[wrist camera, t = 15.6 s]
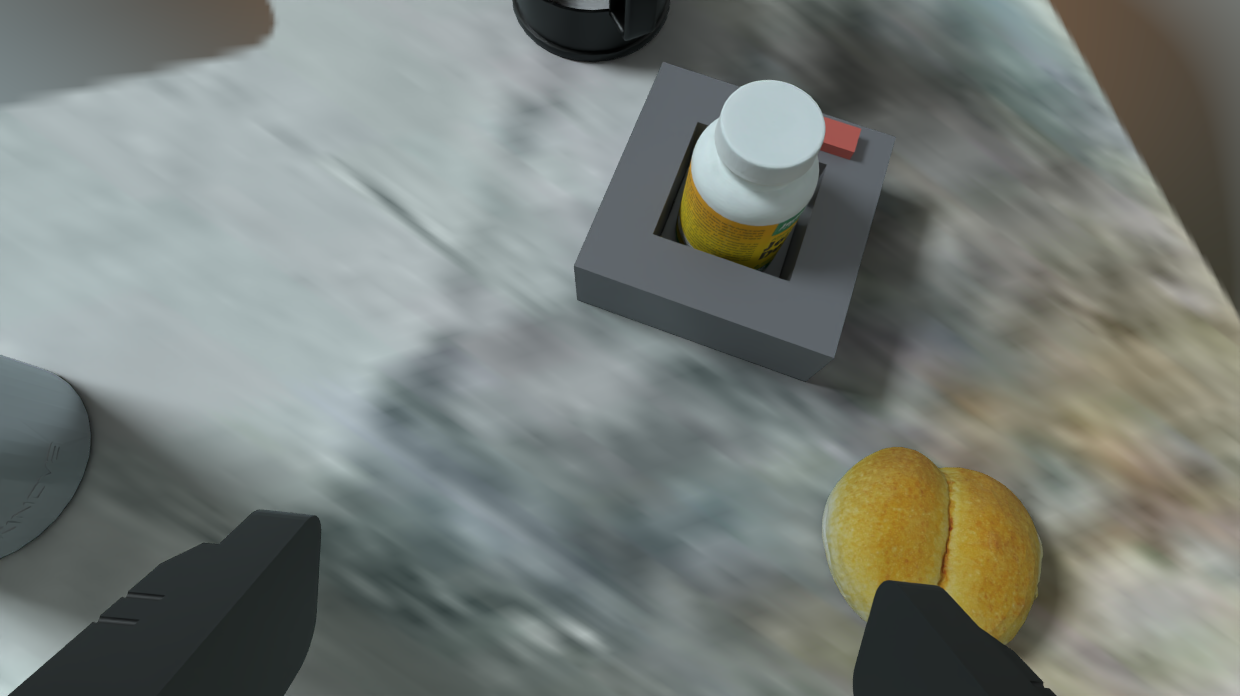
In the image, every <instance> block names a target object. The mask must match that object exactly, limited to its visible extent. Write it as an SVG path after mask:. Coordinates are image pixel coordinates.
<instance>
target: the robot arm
mask: <svg viewBox="0 0 1240 696" xmlns="http://www.w3.org/2000/svg"><path fill="white" fill-rule="evenodd" d="M90 439H91V432H90V425H89V419H88V414H87V412H86V409H85V407H84V405H83V403H82V400H81V398H80V397H79V395H78V394H77V393H76V392H75V391H74V389H73V388H72V387H71V386H70V384H69V383H67V382H66V381H64V380H63V379H62V378H60V377H59V376H57V375H56V374H55V373H52V372H50V371H47V370H44V369H42V368H39V367H37V366H34V365H31V364H28V363H24V362H21V361H18V360H15V359H12V358H9V357H6V356H3V355H0V558H2V557H4V556H6V555H8V554H11V553H13V552H15V551H17V550H18V549H20V548H21V547H23V546H24V545H26V544H27V543H29V542H30V541H31V540H33V539H34V538H36V537H37V536H39V535H40V534H41V533H42V532H43V531H44V530H45V529H46V528H47V527H48V526H49V525H50V524H51V523H52V522H53V521H54V520H55V519H56V518H57V517H58V516H59V514H60V513H61V512H62V511H63V509H64V508H65V507H66V505H67V504H68V503H69V501H70V500H71V499H72V497H73V495H74V493H75V491H76V489H77V487H78V485H79V483H80V481H81V479H82V477H83V475H84V471H85V468H86V464H87V461H88V458H89V452H90ZM320 544H321V524H320V520H319V518H318V517H317V516H315V515H306V514H297V513H288V512H279V511H269V510H256V511H254V512H253V513H252V514H250V515H249V516H248V517H247V518H246V519H245V520H244V521H243V522H242V523H241V524H240V525H239V526H238V527H237V528H236V529H235V530H234V531H232V532H231V533H230V534H229V535H228V536H227V537H226V538H225V539H224V540H223V541H222V542H221V543H220V544H210V543H202V544H200V545H198V546H196V547H194V548H192V549H190V550H188V551H186V552H184V553H182V554H180V555H178V556H175V557H173V558H171V559H169V560H167V561H165V562H163V563H161V564H160V565H158V566H157V567H156V568H155V569H154V570H153V571H151V572H150V573H149V574H148V575H147V576H146V577H145V578H143V579H142V580H141V581H140V582H139V583H138V584H136V585H135V586H134V587H133V588H132V589H131V590H129V591H128V595H127V597H126V598H123V597H121V598H120V599H119V600H118V601H117V602H116V603H114V604H113V605H112V606H111V607H110V608H109V609H108V610H106V611H105V612H104V613H103V614H102V615H101V616H100V619H99V621H98V622H97V623H94V622H92V623H91V624H90V625H89V626H88V627H87V628H86V629H84V630H83V631H82V632H81V633H80V634H79V635H77V636H76V637H75V638H74V639H73V640H72V641H70V642H69V643H68V644H67V645H66V646H65V647H64V648H62V649H61V650H60V651H59V652H58V653H57V654H55V655H54V656H53V657H52V658H51V659H50V660H49V661H47V662H46V663H45V664H44V665H43V666H42V667H40V668H39V669H38V670H37V671H36V672H35V673H33V674H32V675H31V676H30V677H29V678H28V679H27V680H25V681H24V682H23V683H22V684H21V685H20V686H18V687H17V688H16V689H15V690H14V691H13V692H11V693H10V694H9V695H8V696H284V694H285V693H286V691H287V689H288V688H289V686H290V684H291V683H292V681H293V679H294V678H295V676H296V674H297V673H298V671H299V669H300V668H301V666H302V664H303V662H304V660H305V657H306V655H307V652H308V649H309V647H310V643H311V640H312V636H313V632H314V628H315V622H316V613H317V596H318V579H319V561H320ZM853 694H854V696H1056V695H1055V694H1054V693H1053V692H1052V691H1051V690H1050V689H1049V688H1044V686H1043V681H1042V680H1041V679H1040V678H1039V677H1038V676H1037V675H1036V674H1035V673H1034V672H1033V671H1032V670H1031V669H1030V668H1029V667H1028V666H1027V664H1026V663H1025V662H1024V661H1023V660H1022V659H1021V658H1020V657H1019V656H1018V655H1017V654H1016V653H1015V652H1014V651H1013V650H1011V649H1010V648H1008V647H1007V646H1005V645H1004V644H1003V643H1001V642H1000V641H998V640H997V639H996V638H994V637H993V636H991V635H990V634H989V633H987V632H986V631H984V630H983V629H981V628H980V627H979V626H978V625H977V624H976V623H975V622H974V621H973V620H972V619H971V617H970V616H969V615H968V614H967V613H966V612H965V611H964V610H963V609H962V608H961V607H960V606H959V605H958V603H957V602H956V601H955V600H954V599H953V598H952V597H951V596H950V595H949V594H948V593H947V592H946V591H945V590H944V589H943V588H941V587H940V586H937V585H930V584H920V583H911V582H902V581H893V580H886V581H884V582H882V583H881V584H880V585H879V587H878V588H877V590H876V593H875V596H874V599H873V603H872V607H871V610H870V614H869V617H868V621H867V625H866V628H865V632H864V635H863V639H862V643H861V646H860V650H859V654H858V657H857V661H856V664H855V668H854V674H853Z"/></svg>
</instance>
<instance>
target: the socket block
mask: <svg viewBox="0 0 1240 696" xmlns="http://www.w3.org/2000/svg"><path fill="white" fill-rule="evenodd" d="M739 88H740V86H737V85H733V84H730V83H727V82H724V81H721V80H718V79H715V78H712V77H709V76H706V75H703V74H699V73H696V72H693V71H690V70H687V69H684V68H681V67H678V66H675V65H672V64H668V63H665V62H663V63H662V65H661V67H660V69H659V72H658V74H657V76H656V79H655V81H654V83H653V85H652V88H651V90H650V92H649V95H648V97H647V99H646V102H645V104H644V106H643V108H642V111H641V113H640V115H639V118H638V120H637V122H636V124H635V127H634V129H633V131H632V134H631V136H630V138H629V141H628V143H627V145H626V147H625V150H624V152H623V154H622V157H621V159H620V161H619V163H618V166H617V168H616V170H615V173H614V175H613V177H612V180H611V182H610V184H609V186H608V189H607V191H606V193H605V196H604V198H603V200H602V202H601V205H600V207H599V209H598V212H597V214H596V216H595V219H594V221H593V223H592V225H591V228H590V230H589V232H588V235H587V237H586V239H585V241H584V244H583V246H582V248H581V251H580V253H579V255H578V258H577V260H576V262H575V264H574V272H575V282H576V292H577V300H580V301H582V302H585V303H588V304H591V305H594V306H596V307H599V308H602V309H605V310H607V311H610V312H613V313H616V314H619V315H621V316H624V317H627V318H630V319H632V320H635V321H638V322H641V323H644V324H646V325H649V326H652V327H655V328H657V329H660V330H663V331H666V332H669V333H671V334H674V335H677V336H680V337H682V338H685V339H688V340H691V341H694V342H696V343H699V344H702V345H705V346H707V347H710V348H713V349H716V350H719V351H721V352H724V353H727V354H730V355H733V356H735V357H738V358H741V359H744V360H746V361H749V362H752V363H755V364H758V365H760V366H763V367H766V368H769V369H771V370H774V371H777V372H780V373H783V374H785V375H788V376H791V377H794V378H796V379H799V380H802V381H805V382H806V381H807V380H808V379H809V378H811V377H812V376H813V375H814V374H815V373H817V372H818V371H819V370H820V369H822V368H823V367H824V366H825V365H826V364H828V363H829V362H830V361H831V360H832V359H834V357H835V353H836V350H837V346H838V342H839V339H840V335H841V332H842V328H843V325H844V321H845V317H846V314H847V310H848V307H849V303H850V299H851V296H852V292H853V289H854V285H855V282H856V278H857V274H858V271H859V267H860V264H861V260H862V256H863V253H864V249H865V246H866V242H867V239H868V235H869V231H870V228H871V224H872V221H873V217H874V213H875V210H876V206H877V203H878V199H879V196H880V192H881V188H882V185H883V181H884V178H885V174H886V170H887V167H888V163H889V160H890V156H891V153H892V149H893V145H894V142H895V138H896V137H894V136H891V135H888V134H885V133H882V132H879V131H876V130H873V129H870V128H867V127H863V126H860V125H857V124H854V123H851V122H848V121H845V120H842V119H839V118H836V117H833V116H829V115H826V114H823V113H822V114H823V117H824V120H825V131H826V132H825V137H824V141H823V144H822V146H821V148H820V150H819V153H818V154H817V156H818V161H819V178H818V182H817V186H816V189H815V191H814V194H813V196H812V198H811V200H810V201H809V203H808V204H807V206H806V207H805V209H804V211H803V212H802V214H801V216H800V217H799V219H798V220H797V222H796V224H795V225H794V227H793V228H792V230H791V232H790V233H789V235H788V236H787V238H786V240H785V241H784V243H783V244H782V246H781V248H780V249H779V251H778V252H777V254H776V256H775V258H774V259H773V260H772V262H771V263H770V265H769V266H768V267H767V269H766V270H765V271H764V272H760V271H757V270H755V269H752V268H749V267H746V266H743V265H740V264H737V263H734V262H732V261H729V260H726V259H723V258H720V257H717V256H714V255H711V254H708V253H706V252H703V251H700V250H697V249H694V248H691V247H688V246H685V245H683V244H680V243H677V242H676V240H675V226H676V221H677V216H678V212H679V208H680V204H681V200H682V196H683V192H684V188H685V184H686V180H687V176H688V171H689V167H690V163H691V158H692V155H693V151H694V148H695V145H696V143H697V141H698V139H699V137H700V136H701V134H702V133H703V131H704V130H705V129H706V128H707V127H708V126H709V125H710V124H711V123H712V122H713V121H715V120H716V119H718V118H719V117H720V114H721V111H722V108H723V106H724V104H725V102H726V100H727V99H728V98H729V96H730V95H731V94H732V93H733V92H735V91H736V90H737V89H739ZM686 170H687V172H686ZM685 173H686V174H685ZM684 176H685V177H684ZM683 178H684V179H683ZM682 181H683V182H682ZM681 183H682V184H681ZM680 186H681V187H680ZM679 188H680V189H679ZM678 191H679V192H678ZM677 193H678V194H677ZM676 196H677V197H676ZM675 198H676V199H675ZM674 201H675V202H674ZM673 203H674V205H673ZM672 206H673V207H672ZM671 208H672V210H671ZM670 211H671V212H670ZM669 214H670V215H669ZM668 216H669V217H668ZM667 219H668V220H667ZM666 221H667V222H666ZM665 224H666V225H665ZM664 226H665V227H664ZM795 226H796V227H795ZM663 229H664V230H663ZM794 229H795V230H794ZM662 231H663V232H662ZM793 232H794V233H793ZM661 234H662V235H661ZM792 235H793V236H792ZM660 236H661V237H660ZM791 238H792V239H791ZM790 241H791V242H790ZM786 254H787V255H786ZM785 257H786V258H785ZM784 260H785V261H784ZM783 263H784V264H783ZM782 266H783V267H782ZM781 269H782V270H781Z"/></svg>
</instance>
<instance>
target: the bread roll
mask: <svg viewBox="0 0 1240 696" xmlns="http://www.w3.org/2000/svg"><path fill="white" fill-rule="evenodd" d="M822 538H823V544H824V548H825V552H826V557H827V562H828V565H829V568H830V571H831V574H832V577H833V579H834V581H835V583H836V585H837V587H838V588H839V590H840V592H841V594H842V595H843V597H844V598H845V600H846V601H847V603H848V604H849V606H850V607H851V608H852V609H853V610H854V611H855V612H856V613H857V614H858V615H859V616H860V618H861V619H863V620H864V621H866V622H867V621H868V617H869V614H870V610H871V607H872V603H873V599H874V596H875V593H876V590H877V588H878V587H879V585H880V584H881V583H882V582H884V581H886V580H893V581H902V582H911V583H920V584H930V585H937V586H940V587H941V588H943V589H944V590H945V591H946V592H947V593H948V594H949V595H950V596H951V597H952V598H953V599H954V600H955V601H956V602H957V603H958V605H959V606H960V607H961V608H962V609H963V610H964V611H965V612H966V613H967V614H968V615H969V616H970V617H971V619H972V620H973V621H974V622H975V623H976V624H977V625H978V626H979V627H980V628H981V629H983V630H984V631H986V632H987V633H989V634H990V635H991V636H993V637H994V638H996V639H997V640H998V641H1000V642H1001V643H1003V644H1004V645H1006V644H1007V643H1008V642H1010V641H1011V640H1012V639H1013V638H1014V637H1015V635H1016V634H1017V632H1018V631H1019V629H1020V628H1021V626H1022V625H1023V624H1024V622H1025V620H1026V618H1027V615H1028V613H1029V611H1030V609H1031V607H1032V604H1033V601H1034V600H1035V599H1036V598H1037V597H1038V583H1039V582H1040V574H1041V563H1042V558H1043V548H1042V542H1041V539H1040V536H1039V535H1038V534H1037V531H1036V529H1035V526H1034V524H1033V521H1032V519H1031V517H1030V515H1029V513H1028V512H1027V510H1026V509H1025V507H1024V506H1023V504H1022V503H1021V502H1020V500H1019V499H1018V498H1017V497H1016V496H1015V495H1014V494H1013V493H1012V492H1011V491H1010V490H1009V489H1008V488H1007V487H1006V486H1004V485H1003V484H1001V483H1000V482H998V481H997V480H995V479H994V478H992V477H990V476H988V475H986V474H983V473H980V472H977V471H973V470H969V469H964V468H948V467H946V468H938V467H937V466H936V465H935V464H934V463H933V462H932V461H930V460H929V459H928V458H927V457H926V456H924V455H923V454H921V453H919V452H917V451H916V450H911V449H907V448H904V447H892V448H885V449H882V450H879V451H877V452H875V453H873V454H871V455H869V456H867V457H865V458H864V459H862V460H861V461H859V462H858V463H857V464H855V465H854V466H853V467H852V468H851V469H850V470H849V471H848V472H847V473H846V474H845V475H844V476H843V477H842V478H841V480H840V481H839V482H838V483H837V484H836V486H835V487H834V489H833V491H832V492H831V494H830V496H829V498H828V500H827V503H826V506H825V510H824V514H823V518H822Z"/></svg>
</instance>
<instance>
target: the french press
mask: <svg viewBox="0 0 1240 696" xmlns="http://www.w3.org/2000/svg"><path fill="white" fill-rule="evenodd" d="M512 1H513V8H514V12H515V14H516V17H517V20H518V22H519V24H520V25H521V27H522V28H523V29H524V31H525V32H526V34H527V35H528V36H529V37H530V38H531V39H532V40H533V41H534V42H536V43H537V44H538V45H540V46H541V47H543V48H544V49H546V50H548V51H549V52H552V53H554V54H557V55H559V56H561V57H564V58H569V59H573V60H578V61H592V62H596V61H606V60H612V59H616V58H620V57H623V56H626V55H628V54H630V53H633V52H635V51H637V50H639V49H640V48H642V47H643V46H644V45H646V44H647V43H649V42H650V41H651V40H652V39H653V38H654V36H655V35H656V34H657V33H658V32H659V31H660V29H661V27H662V25H663V24H664V22H665V20H666V18H667V14H668V11H669V7H670V0H609V9H600V10H584V9H575V8H570V7H566V6H562V5H559V4H557V3H554V2H552V1H549V0H512Z"/></svg>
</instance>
